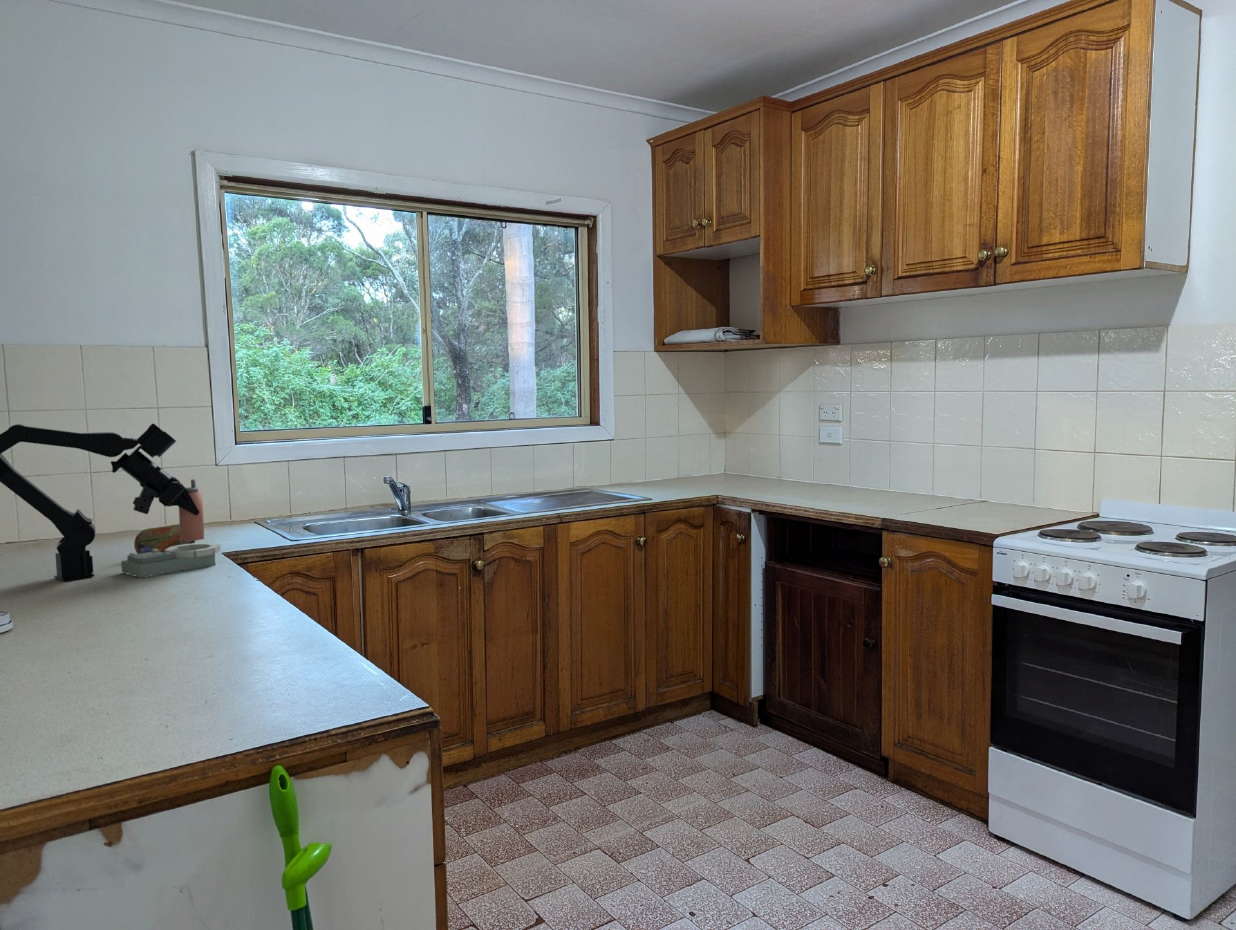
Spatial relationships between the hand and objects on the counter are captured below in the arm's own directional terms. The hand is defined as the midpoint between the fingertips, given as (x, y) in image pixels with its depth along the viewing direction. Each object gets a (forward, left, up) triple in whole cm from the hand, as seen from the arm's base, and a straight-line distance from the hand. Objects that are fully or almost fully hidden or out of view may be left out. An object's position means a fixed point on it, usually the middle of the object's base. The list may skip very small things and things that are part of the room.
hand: (197, 512), depth 216 cm
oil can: (-1, +1, -7) cm, 7 cm away
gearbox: (-5, +1, -13) cm, 14 cm away
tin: (0, +18, -14) cm, 23 cm away
